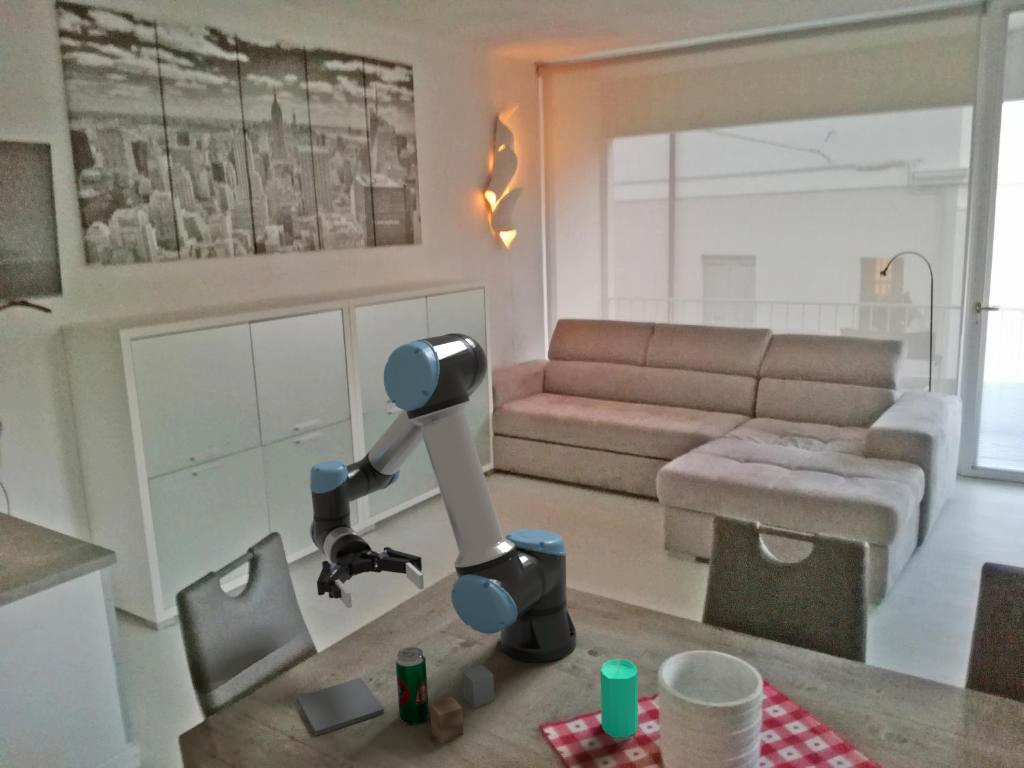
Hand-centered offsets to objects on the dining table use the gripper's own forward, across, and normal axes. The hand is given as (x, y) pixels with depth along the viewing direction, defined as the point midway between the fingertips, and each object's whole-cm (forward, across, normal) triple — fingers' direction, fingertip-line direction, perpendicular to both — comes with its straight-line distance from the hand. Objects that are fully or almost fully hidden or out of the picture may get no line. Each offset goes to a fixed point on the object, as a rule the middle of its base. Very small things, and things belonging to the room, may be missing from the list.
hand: (386, 591), depth 146 cm
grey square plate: (0, +10, -19) cm, 22 cm away
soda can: (+10, 0, -20) cm, 22 cm away
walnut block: (+17, -3, -19) cm, 26 cm away
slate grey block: (+11, -12, -19) cm, 25 cm away
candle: (+31, -28, -19) cm, 46 cm away
